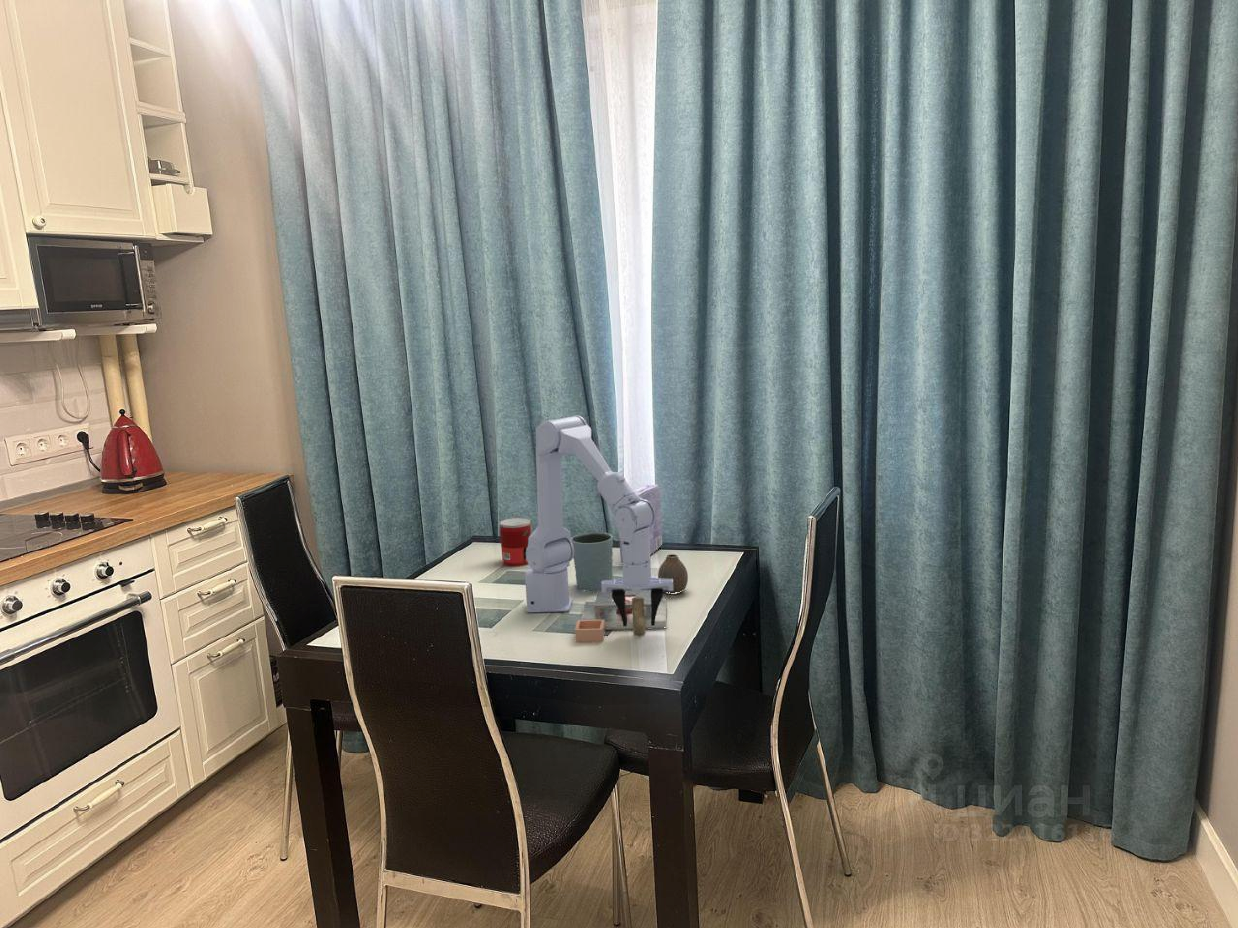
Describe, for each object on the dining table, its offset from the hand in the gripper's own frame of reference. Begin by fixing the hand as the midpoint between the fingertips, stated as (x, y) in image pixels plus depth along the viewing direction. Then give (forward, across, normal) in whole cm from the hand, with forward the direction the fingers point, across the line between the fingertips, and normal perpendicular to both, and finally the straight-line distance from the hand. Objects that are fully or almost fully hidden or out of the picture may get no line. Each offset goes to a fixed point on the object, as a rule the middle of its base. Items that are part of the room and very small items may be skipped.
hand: (639, 624), depth 187 cm
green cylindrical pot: (+2, -12, +32) cm, 34 cm away
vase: (+2, +7, +26) cm, 27 cm away
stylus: (+2, 0, 0) cm, 2 cm away
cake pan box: (+2, -1, +56) cm, 56 cm away
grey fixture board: (+2, -4, +9) cm, 10 cm away
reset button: (+1, -4, +9) cm, 10 cm away
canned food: (+2, -34, +52) cm, 63 cm away
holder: (+2, -10, -1) cm, 10 cm away
